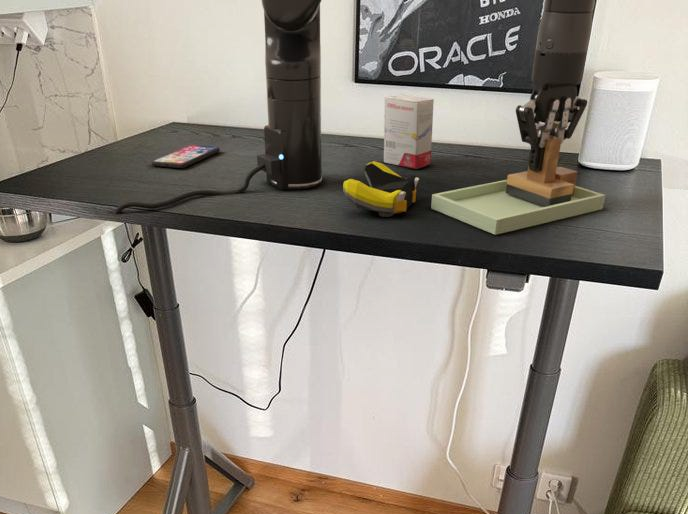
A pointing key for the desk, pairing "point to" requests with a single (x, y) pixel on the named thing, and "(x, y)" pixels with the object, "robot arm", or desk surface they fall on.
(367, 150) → the desk surface
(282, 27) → the robot arm
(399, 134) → the ink box
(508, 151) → the desk surface
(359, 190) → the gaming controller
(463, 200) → the tray
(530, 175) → the brush
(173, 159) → the smartphone
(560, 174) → the wooden block
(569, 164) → the desk surface
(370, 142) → the desk surface
